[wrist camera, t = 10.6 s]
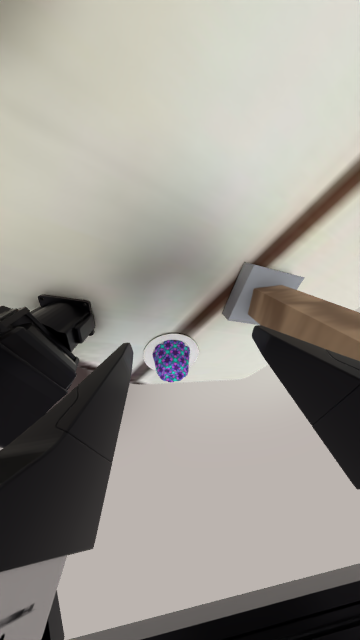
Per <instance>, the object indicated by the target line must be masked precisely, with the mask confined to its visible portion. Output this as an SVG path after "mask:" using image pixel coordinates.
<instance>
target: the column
mask: <svg viewBox="0 0 360 640" xmlns="http://www.w3.org/2000/svg"><path fill="white" fill-rule="evenodd" d="M248 315H249V316H250V317H252V318H253V319H254V320H255V321H256V322H258V323H259V324H260V325H262V326H265V327H268V328H270V329H273V330H276V331H278V332H281V333H284V334H287V335H289V336H292V337H295V338H297V339H300V340H303V341H306V342H308V343H311V344H314V345H316V346H319V347H322V348H324V349H327V350H330V351H333V352H335V353H338V354H341V355H344V356H347V357H349V358H352V359H355V360H358V361H360V313H359V312H356V311H353V310H350V309H348V308H345V307H342V306H339V305H336V304H334V303H331V302H328V301H325V300H323V299H320V298H317V297H314V296H311V295H309V294H306V293H303V292H300V291H297V290H295V289H292V288H289V287H286V286H284V285H277V286H269V287H261V288H254V290H253V294H252V298H251V303H250V307H249V311H248Z"/></svg>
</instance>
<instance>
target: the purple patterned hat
mask: <svg viewBox="0 0 360 640" xmlns="http://www.w3.org/2000/svg"><path fill="white" fill-rule="evenodd" d="M171 339H174V340H180V341H175V342H174V341H173V340H171ZM166 340H167V341H166ZM163 341H165V342H164V343H163V344H159V343H161V342H163ZM182 341H183V342H185V343H186V344H187V345H188V346H189V347H188V346H185V345H184V343H183V342H182ZM158 344H159V345H158ZM155 347H156V348H155ZM154 348H155V352H154V353H153V350H154ZM190 351H191V353H190ZM152 353H153V356H152ZM189 354H190V357H189ZM198 355H199V349H198V346H197V344H196V343H195V341H194V340H192V339H191V338H189V337H187V336H185V335H181V334H166V335H162V336H159V337H157V338H155V339H153V340H152V341H151V342H150V343H148V345H147V346H146V348H145V350H144V353H143V358H144V361H145V363H146V364H147V365H148V367H150V368H151V369H153V370H155V371H157V374H158V375H159V376H160V378H161V379H162V380H164V381H168V382H174V381H180V380H181V379H182V378H183V377H185V376H186V375H187V374H188V368H189V367H191V366H192V365H193V364H194V363H195V361H196V360H197V358H198Z"/></svg>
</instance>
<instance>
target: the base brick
mask: <svg viewBox="0 0 360 640" xmlns="http://www.w3.org/2000/svg"><path fill="white" fill-rule="evenodd" d="M303 279H304V277H300V276H296V275H292V274H289V273H285V272H281V271H277V270H273V269H269V268H265V267H262V266H258V265H254V264H250V263H246V262H244V264H243V267H242V269H241V271H240V274H239V276H238V278H237V280H236V283H235V285H234V287H233V290H232V292H231V294H230V297H229V299H228V301H227V303H226V306H225V308H224V310H223V313H222V314H223V315H224V316H225V317H226V319H227V320H229V321H236V322H243V323H250V324H257V325H260V324H259V323H258V322H256V321H255V320H254V319H253V318H252V317H250V316H249V315H248V311H249V307H250V303H251V298H252V294H253V290H254V288H261V287H269V286H277V285H284V286H286V287H289V288H292V289H295V290H297V288H298V287H299V285H300V284H301V282H302V281H303Z"/></svg>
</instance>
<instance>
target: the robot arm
mask: <svg viewBox="0 0 360 640" xmlns="http://www.w3.org/2000/svg"><path fill="white" fill-rule="evenodd" d="M43 298H44V299H43ZM38 300H39V303H40V305H41V307H39V308H37V309H35V310H33V311H31V312H30V310H29V309H27V308H26V307H23V308H20V309H17V308H16V309H13V308H12V309H11V308H8V307H5V306H0V447H1V448H3V449H2V450H1V451H0V640H64V632H63V626H62V620H61V614H60V608H59V601H58V596H57V590H56V589H57V586H58V583H59V580H60V577H61V573H62V570H63V567H64V564H65V560H66V557H67V555H70V554H74V553H78V552H82V551H86V550H90V549H93V547H94V543H95V539H96V534H97V530H98V525H99V521H100V516H101V511H102V507H103V502H104V498H105V493H106V489H107V484H108V479H109V475H110V470H111V466H112V461H113V456H114V451H115V447H116V442H117V438H118V433H119V429H120V424H121V419H122V415H123V410H124V406H125V401H126V397H127V392H128V387H129V383H130V378H131V372H132V362H133V350H132V347H131V345H130V343H123V344H122V345H121V346H120V347H119V348H118V349H117V350H115V351H114V352H113V353H112V354H111V355H110V356H109V357H108V358H107V359H106V360H105V361H104V362H103V363H101V364H100V365H99V366H98V367H97V368H96V369H95V370H94V371H93V372H92V373H91V374H90V375H89V376H87V377H86V378H85V379H84V380H83V381H82V382H81V383H80V384H79V385H78V386H77V387H76V388H74V389H73V390H72V391H71V392H70V393H69V394H68V395H67V396H66V397H65V398H63V399H62V400H61V401H60V402H59V403H58V404H57V405H55V406H54V407H53V408H52V409H51V410H50V411H49V412H47V411H48V410H49V409H50V408H51V407H52V406H53V405H54V404H55V403H56V402H57V401H59V400H60V399H61V398H62V397H63V396H65V395H66V394H67V392H68V391H67V390H68V388H69V387H70V385H71V384H72V382H73V380H74V379H75V377H76V373H75V372H76V368H77V365H78V362H79V358H78V357H75V356H74V355H73V354H72V353H71V352H72V351H73V349H74V348H75V347H76V346H77V345H78V343H83V342H84V340H85V339H86V338H87V336H88V335H89V336H92V335H93V334H94V328H95V325H94V318H93V315H92V313H91V305H90V303H89V302H88V301H85V300H78V299H71V298H63V297H56V296H49V295H40V296H38ZM85 303H86V304H87V305H86V304H85ZM252 338H253V340H254V341H255V343H256V345H257V347H258V349H259V350H260V352H261V354H262V355H263V357H264V358H265V360H266V361H267V363H268V364H269V365H270V367H271V368H272V370H273V371H274V373H275V374H276V375H277V377H278V378H279V380H280V381H281V383H282V384H283V385H284V387H285V388H286V390H287V391H288V393H289V394H290V395H291V397H292V398H293V400H294V401H295V402H296V404H297V405H298V407H299V408H300V410H301V411H302V412H303V414H304V415H305V417H306V418H307V419H308V421H309V422H310V424H311V425H312V427H313V428H314V430H315V431H316V432H317V434H318V435H319V437H320V438H321V440H322V441H323V442H324V444H325V445H326V446H327V448H328V449H329V451H330V452H331V454H332V455H333V457H334V458H335V459H336V461H337V462H338V464H339V465H340V467H341V468H342V469H343V471H344V472H345V474H346V475H347V477H348V478H349V479H350V481H351V482H352V483H353V485H354V486H355V487H356V488H357V489H360V361H358V360H355V359H352V358H349V357H347V356H344V355H341V354H338V353H335V352H333V351H330V350H327V349H324V348H322V347H319V346H316V345H314V344H311V343H308V342H306V341H303V340H300V339H297V338H295V337H292V336H289V335H287V334H284V333H281V332H278V331H276V330H273V329H270V328H268V327H265V326H262V325H257V326H255V327H254V329H253V333H252ZM46 412H47V413H46ZM69 640H360V564H356V565H352V566H349V567H344V568H341V569H337V570H333V571H329V572H326V573H321V574H318V575H314V576H310V577H306V578H303V579H299V580H295V581H291V582H287V583H283V584H279V585H276V586H272V587H268V588H264V589H261V590H257V591H253V592H249V593H245V594H242V595H237V596H234V597H230V598H226V599H222V600H219V601H215V602H211V603H207V604H203V605H199V606H195V607H192V608H188V609H184V610H180V611H176V612H173V613H169V614H165V615H161V616H157V617H154V618H150V619H146V620H142V621H138V622H134V623H131V624H127V625H123V626H119V627H115V628H111V629H108V630H104V631H100V632H96V633H92V634H88V635H85V636H81V637H77V638H73V639H69Z"/></svg>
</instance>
